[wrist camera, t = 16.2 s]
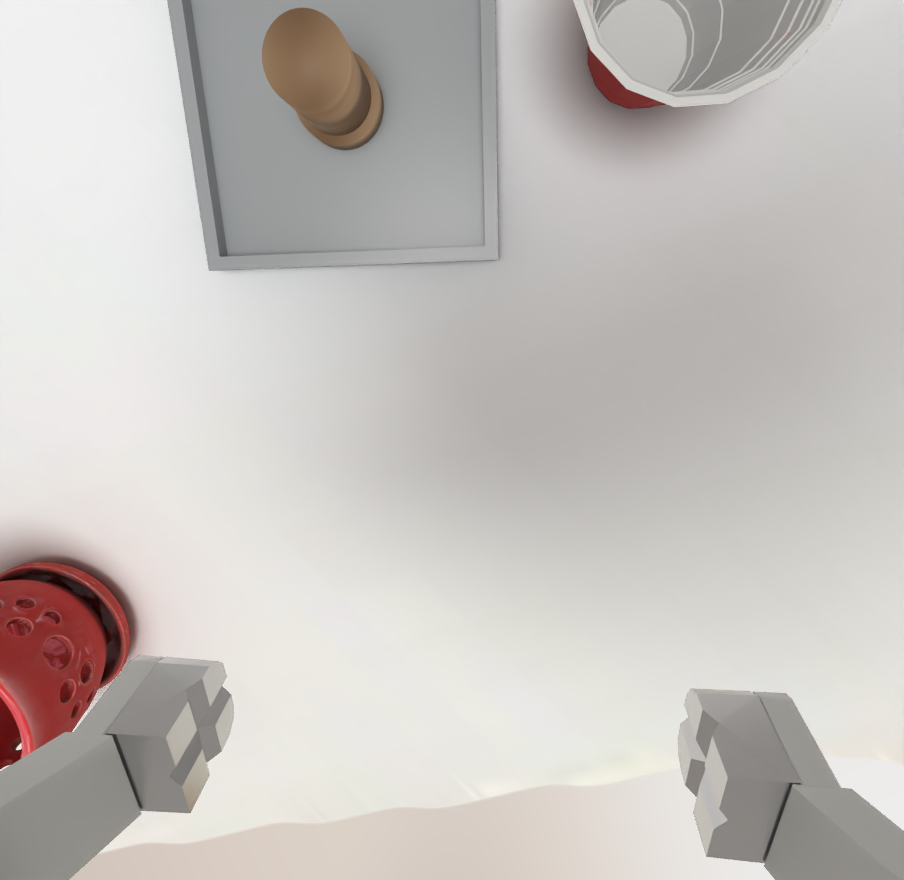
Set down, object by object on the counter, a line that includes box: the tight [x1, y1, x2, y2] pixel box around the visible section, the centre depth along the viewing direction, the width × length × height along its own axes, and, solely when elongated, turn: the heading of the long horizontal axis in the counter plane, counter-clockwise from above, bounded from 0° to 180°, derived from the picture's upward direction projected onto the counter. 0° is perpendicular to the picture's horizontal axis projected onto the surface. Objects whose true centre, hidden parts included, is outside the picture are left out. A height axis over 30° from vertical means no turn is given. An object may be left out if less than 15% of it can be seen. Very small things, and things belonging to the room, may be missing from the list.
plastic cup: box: [573, 0, 842, 109], centre depth 27 cm, size 11×11×12 cm
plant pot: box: [0, 562, 130, 769], centre depth 40 cm, size 13×13×12 cm
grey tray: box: [167, 0, 498, 271], centre depth 33 cm, size 18×18×2 cm
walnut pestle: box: [262, 8, 384, 150], centre depth 30 cm, size 5×5×8 cm
